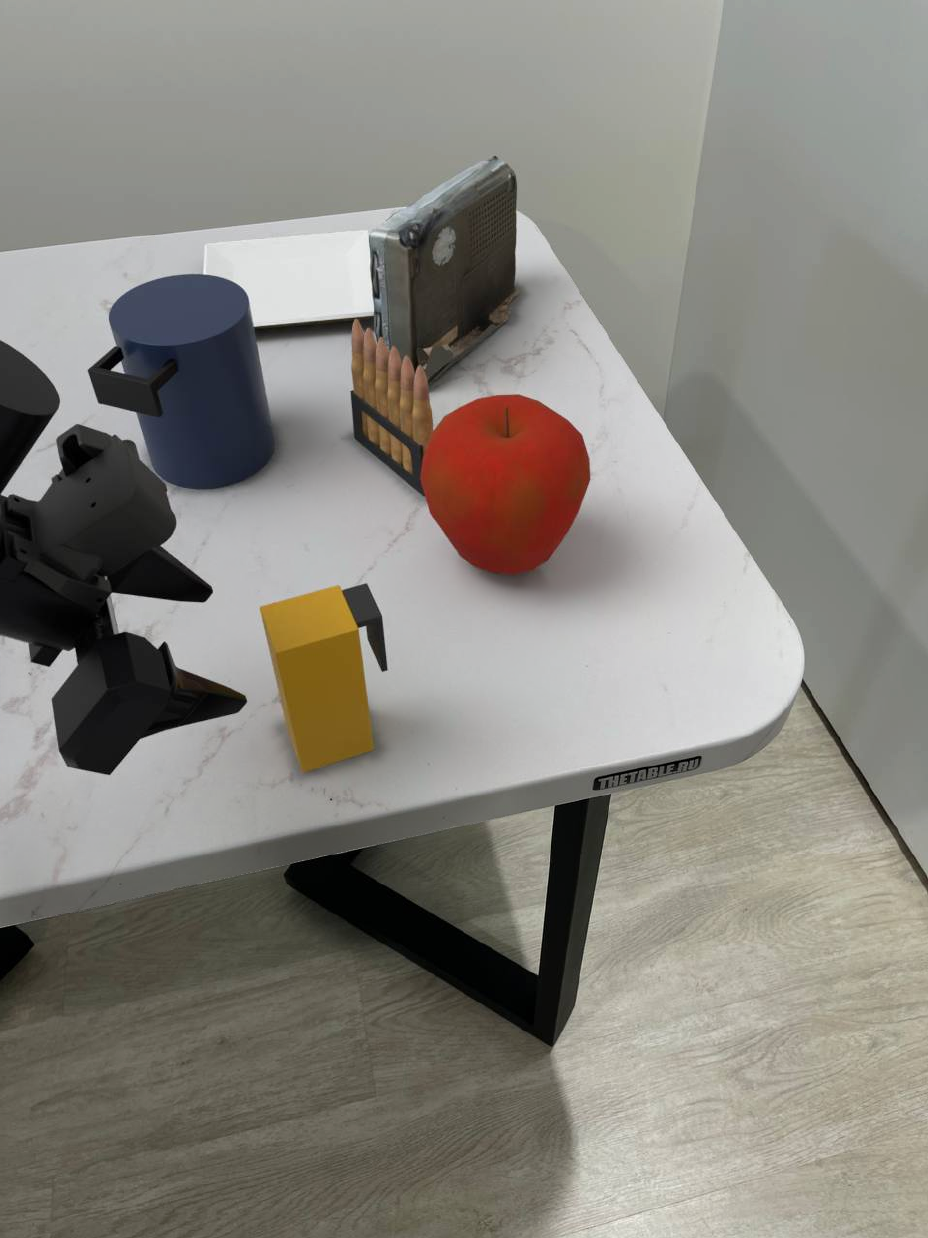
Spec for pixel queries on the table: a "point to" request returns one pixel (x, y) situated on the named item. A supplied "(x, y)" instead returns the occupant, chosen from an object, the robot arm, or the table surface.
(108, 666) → the robot arm
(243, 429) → the navy blue cylinder
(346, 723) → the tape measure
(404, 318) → the radio
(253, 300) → the plate
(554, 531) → the apple
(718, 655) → the table surface
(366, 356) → the ammunition clip
